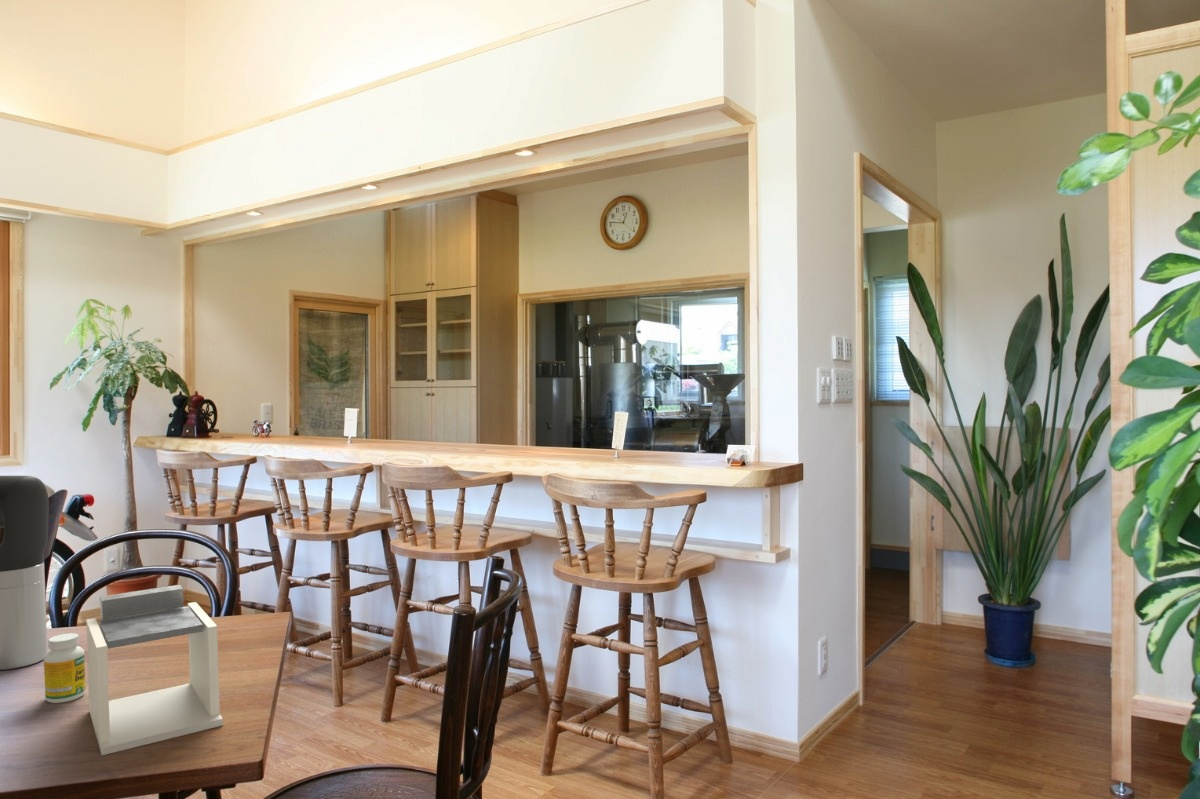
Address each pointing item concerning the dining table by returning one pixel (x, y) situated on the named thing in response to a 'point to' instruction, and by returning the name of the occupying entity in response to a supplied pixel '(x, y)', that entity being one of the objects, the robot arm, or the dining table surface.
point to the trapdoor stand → (155, 695)
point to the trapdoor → (146, 616)
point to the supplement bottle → (64, 669)
